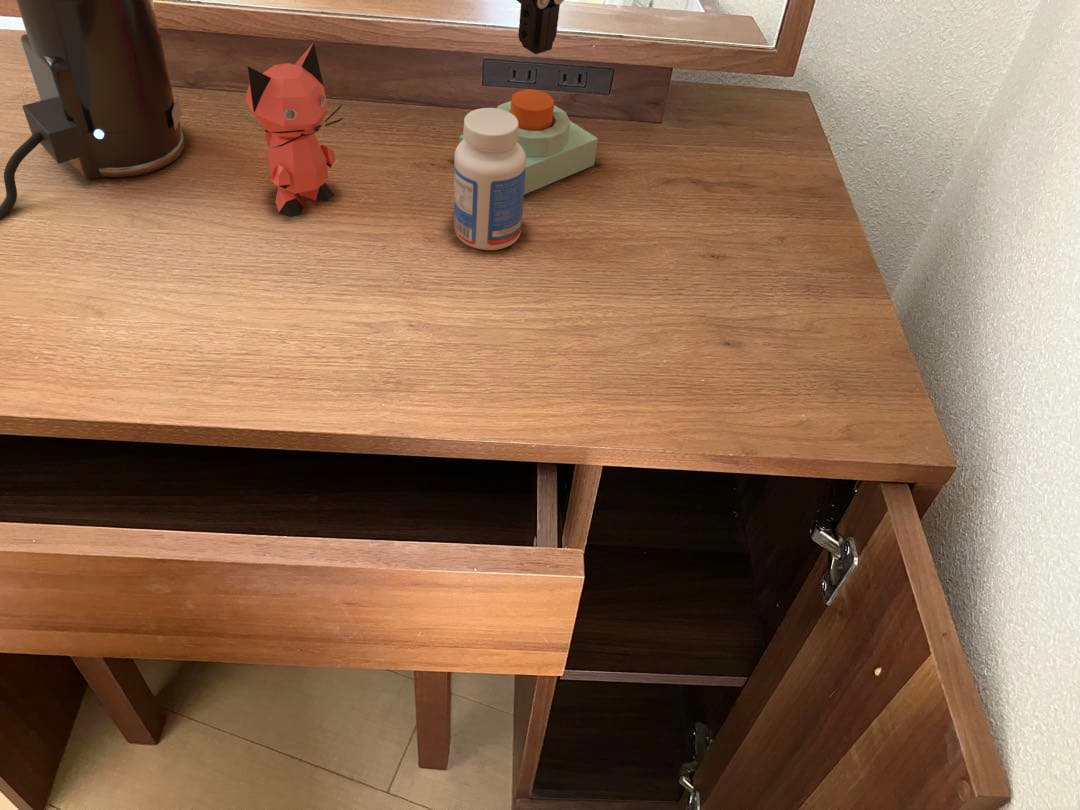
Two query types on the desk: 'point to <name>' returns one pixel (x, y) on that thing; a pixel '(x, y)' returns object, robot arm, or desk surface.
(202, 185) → the desk surface
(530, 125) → the orange cylinder plug
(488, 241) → the pill bottle
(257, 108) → the cat figurine
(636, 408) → the desk surface
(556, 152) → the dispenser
